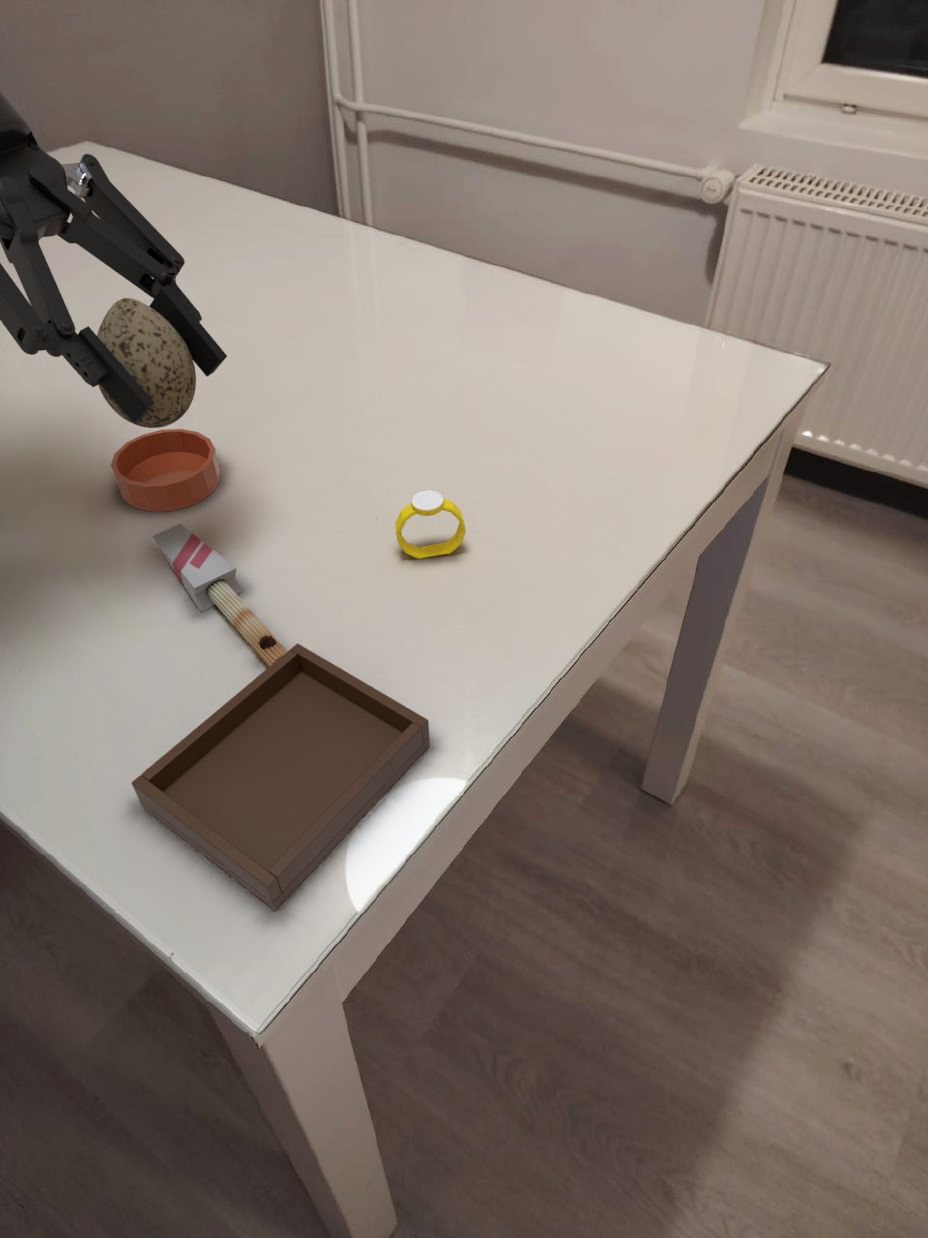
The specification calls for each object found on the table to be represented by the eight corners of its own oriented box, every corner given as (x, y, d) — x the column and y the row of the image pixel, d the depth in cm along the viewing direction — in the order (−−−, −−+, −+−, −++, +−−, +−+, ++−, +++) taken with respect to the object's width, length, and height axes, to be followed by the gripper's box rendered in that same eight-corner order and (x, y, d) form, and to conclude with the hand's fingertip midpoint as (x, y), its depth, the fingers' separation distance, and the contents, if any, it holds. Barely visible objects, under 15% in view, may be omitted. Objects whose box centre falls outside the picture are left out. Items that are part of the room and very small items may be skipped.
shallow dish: (111, 514, 82) (101, 488, 80) (130, 456, 88) (122, 431, 86) (214, 509, 82) (207, 483, 80) (225, 451, 89) (219, 426, 87)
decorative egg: (144, 457, 65) (106, 332, 58) (95, 422, 69) (53, 300, 62) (224, 420, 69) (196, 298, 62) (173, 388, 72) (142, 269, 65)
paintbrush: (183, 508, 77) (300, 641, 67) (189, 531, 79) (304, 664, 69) (142, 525, 75) (256, 664, 65) (149, 548, 77) (261, 687, 67)
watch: (462, 539, 79) (461, 485, 75) (467, 559, 77) (467, 505, 73) (396, 546, 78) (392, 493, 74) (400, 566, 76) (396, 513, 72)
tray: (275, 911, 53) (267, 887, 51) (142, 808, 59) (130, 782, 57) (430, 745, 62) (428, 719, 60) (302, 669, 68) (297, 642, 66)
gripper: (50, 115, 68) (247, 356, 74) (-197, 193, 56) (63, 476, 61) (77, 43, 62) (288, 310, 68) (-191, 112, 50) (95, 431, 56)
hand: (181, 388), depth 65 cm, fingers closed on decorative egg, 7 cm apart
